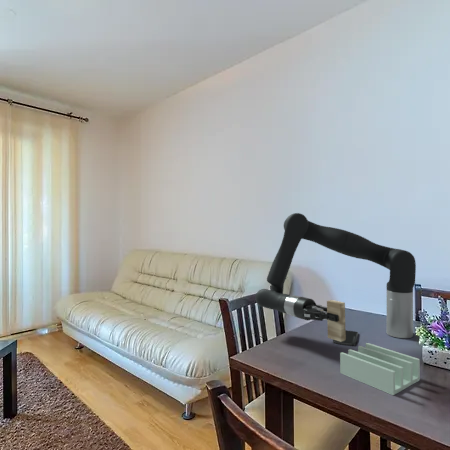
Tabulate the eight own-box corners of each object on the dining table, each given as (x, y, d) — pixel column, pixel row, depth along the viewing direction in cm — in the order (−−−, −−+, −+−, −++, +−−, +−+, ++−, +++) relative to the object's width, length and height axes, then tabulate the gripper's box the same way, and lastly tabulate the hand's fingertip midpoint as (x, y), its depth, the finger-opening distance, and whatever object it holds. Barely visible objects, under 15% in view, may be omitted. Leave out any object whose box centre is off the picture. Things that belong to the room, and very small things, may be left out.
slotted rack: (367, 361, 110) (367, 342, 110) (419, 380, 97) (419, 359, 97) (340, 373, 102) (340, 352, 102) (393, 395, 89) (393, 372, 89)
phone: (332, 341, 127) (337, 329, 140) (332, 344, 127) (337, 332, 140) (355, 344, 123) (358, 331, 137) (355, 347, 123) (358, 334, 137)
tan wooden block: (332, 336, 114) (331, 299, 114) (345, 340, 110) (344, 302, 110) (327, 337, 113) (326, 301, 113) (340, 341, 109) (340, 303, 109)
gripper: (285, 299, 120) (327, 309, 106) (312, 293, 128) (354, 302, 114) (286, 321, 120) (327, 334, 106) (312, 314, 128) (354, 325, 114)
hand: (341, 317), depth 110 cm, fingers closed on tan wooden block, 2 cm apart
